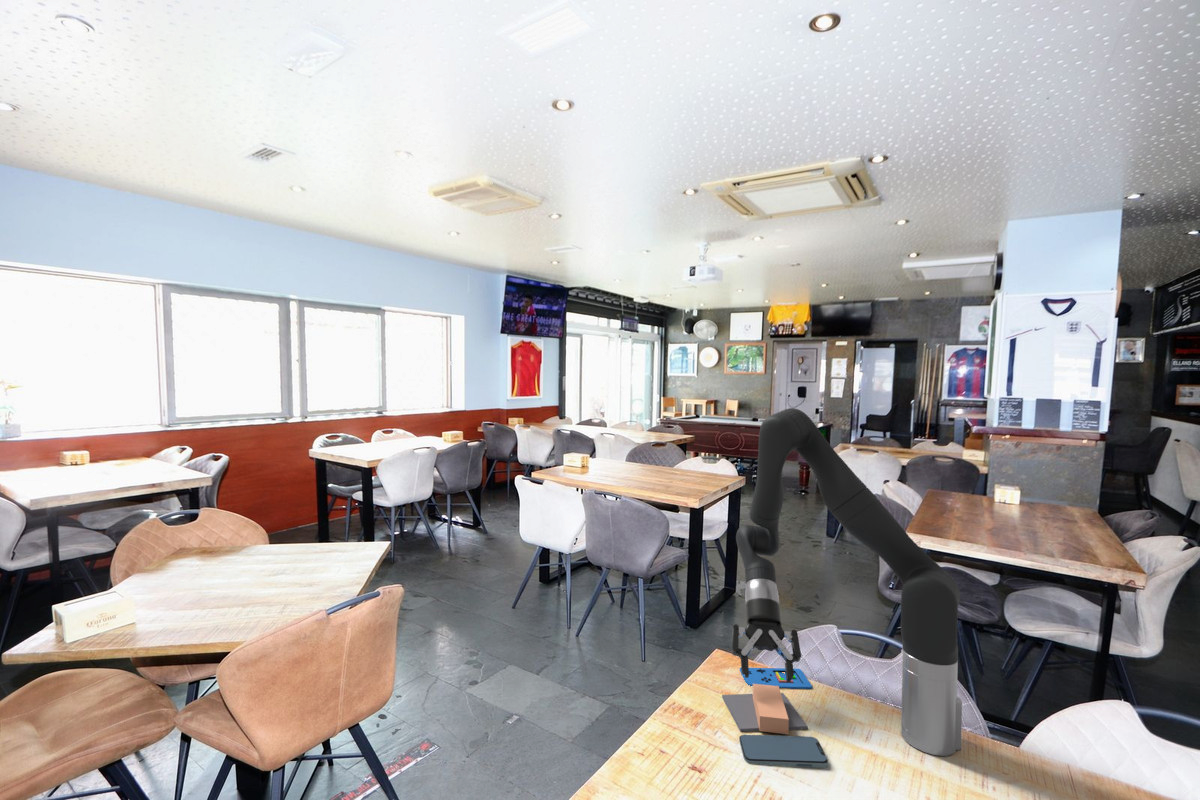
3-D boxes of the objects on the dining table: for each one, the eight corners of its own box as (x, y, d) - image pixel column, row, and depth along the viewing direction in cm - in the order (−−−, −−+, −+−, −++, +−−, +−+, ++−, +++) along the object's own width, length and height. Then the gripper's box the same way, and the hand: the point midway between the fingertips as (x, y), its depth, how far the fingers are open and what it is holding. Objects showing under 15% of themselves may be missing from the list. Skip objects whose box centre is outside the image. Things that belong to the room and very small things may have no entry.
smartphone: (738, 733, 105) (816, 735, 104) (738, 741, 105) (816, 744, 104) (745, 759, 98) (829, 762, 97) (745, 768, 98) (829, 771, 97)
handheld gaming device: (739, 666, 131) (800, 667, 131) (739, 670, 131) (800, 671, 131) (747, 684, 123) (813, 685, 123) (747, 689, 123) (813, 690, 123)
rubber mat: (783, 695, 120) (783, 692, 120) (807, 729, 108) (807, 726, 108) (722, 697, 119) (722, 694, 119) (740, 731, 107) (740, 728, 107)
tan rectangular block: (778, 686, 117) (788, 719, 105) (778, 699, 117) (788, 734, 105) (752, 683, 118) (759, 716, 106) (752, 697, 118) (759, 730, 106)
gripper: (731, 594, 122) (734, 669, 111) (796, 599, 120) (806, 676, 109) (730, 608, 128) (732, 680, 117) (792, 613, 125) (800, 688, 114)
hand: (767, 678), depth 113 cm, fingers open, 8 cm apart
